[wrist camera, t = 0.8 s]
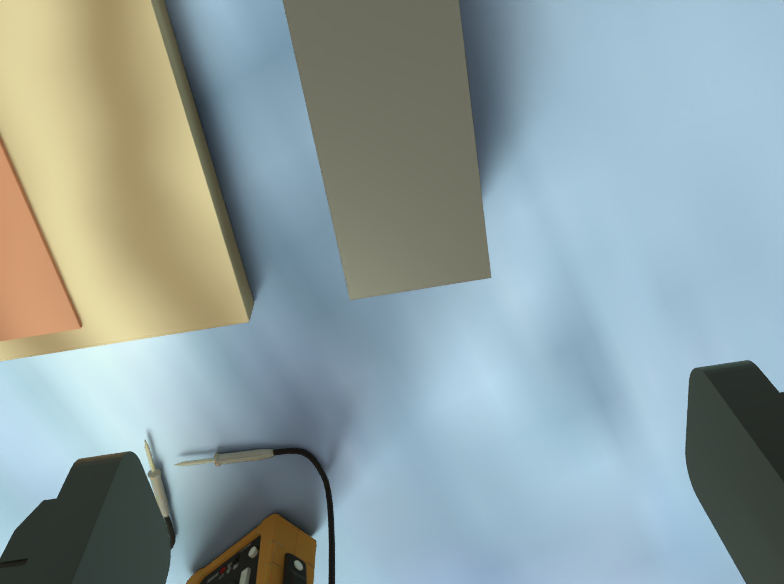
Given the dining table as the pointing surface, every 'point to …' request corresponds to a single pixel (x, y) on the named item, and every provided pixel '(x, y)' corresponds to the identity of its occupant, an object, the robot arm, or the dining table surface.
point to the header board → (105, 183)
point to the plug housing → (393, 139)
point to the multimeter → (258, 535)
